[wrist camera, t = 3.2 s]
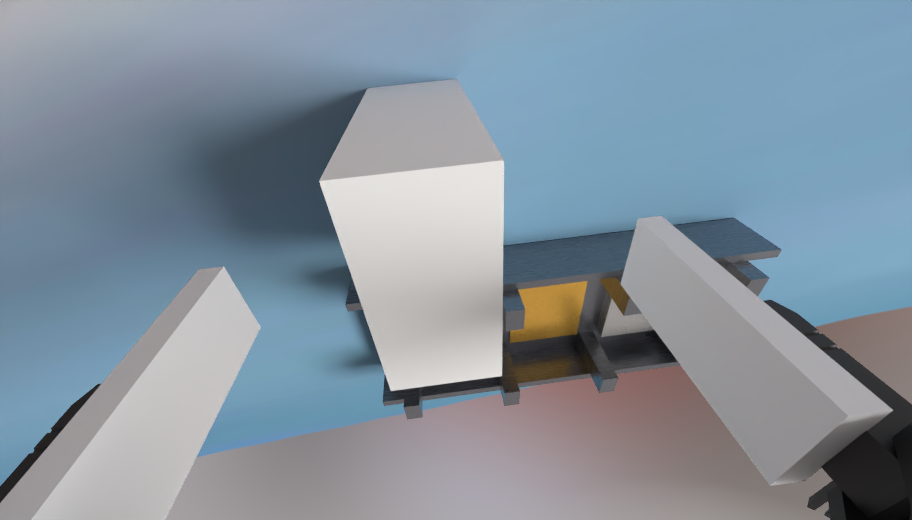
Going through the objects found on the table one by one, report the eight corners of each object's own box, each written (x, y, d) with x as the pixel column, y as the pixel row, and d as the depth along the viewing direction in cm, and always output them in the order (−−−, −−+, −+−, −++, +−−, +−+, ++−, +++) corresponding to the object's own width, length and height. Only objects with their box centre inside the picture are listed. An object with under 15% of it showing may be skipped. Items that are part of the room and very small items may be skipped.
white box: (399, 237, 20) (390, 391, 12) (367, 88, 15) (318, 181, 7) (466, 229, 20) (502, 376, 12) (456, 78, 15) (503, 160, 7)
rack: (388, 368, 27) (384, 431, 23) (354, 264, 21) (341, 325, 17) (680, 329, 28) (724, 383, 24) (734, 217, 22) (806, 266, 18)
